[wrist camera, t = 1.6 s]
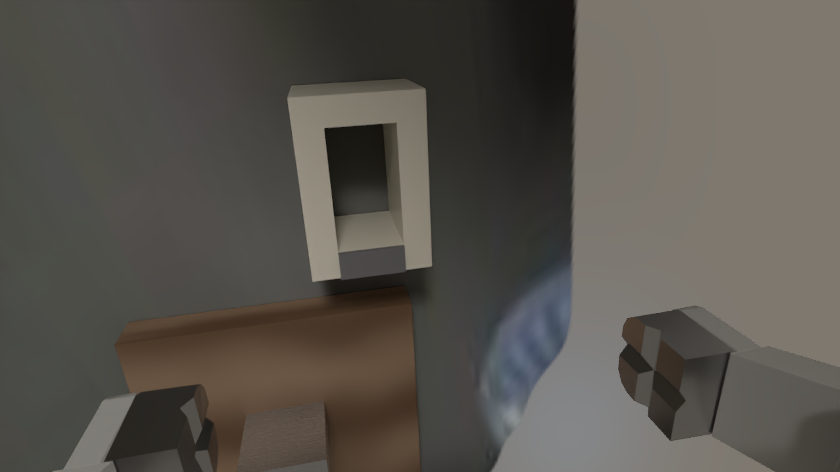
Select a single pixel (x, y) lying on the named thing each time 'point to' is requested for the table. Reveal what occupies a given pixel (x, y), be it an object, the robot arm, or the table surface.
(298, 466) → the tall grey block
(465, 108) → the table surface
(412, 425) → the board
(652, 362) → the robot arm
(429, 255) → the open rectangular brace
